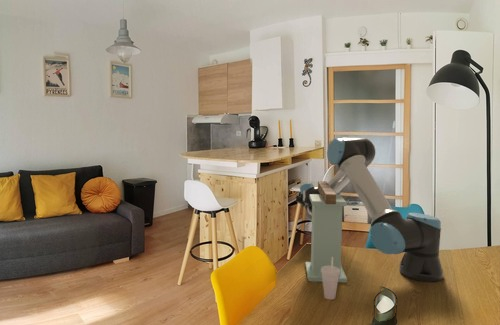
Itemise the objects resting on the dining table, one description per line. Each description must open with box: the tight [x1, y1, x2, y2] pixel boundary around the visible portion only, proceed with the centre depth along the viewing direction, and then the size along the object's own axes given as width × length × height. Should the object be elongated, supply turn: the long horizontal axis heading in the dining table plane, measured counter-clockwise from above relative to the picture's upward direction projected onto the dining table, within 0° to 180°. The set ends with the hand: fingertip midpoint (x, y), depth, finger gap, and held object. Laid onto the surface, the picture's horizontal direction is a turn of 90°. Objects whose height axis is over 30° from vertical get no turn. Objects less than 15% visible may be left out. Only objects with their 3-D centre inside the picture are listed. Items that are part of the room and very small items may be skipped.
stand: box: [305, 194, 348, 284], centre depth 131 cm, size 14×14×30 cm
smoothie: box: [321, 257, 340, 300], centre depth 115 cm, size 6×6×14 cm
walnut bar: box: [317, 180, 336, 204], centre depth 132 cm, size 26×4×4 cm, turn 175°
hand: (320, 193), depth 149 cm, fingers open, 13 cm apart
